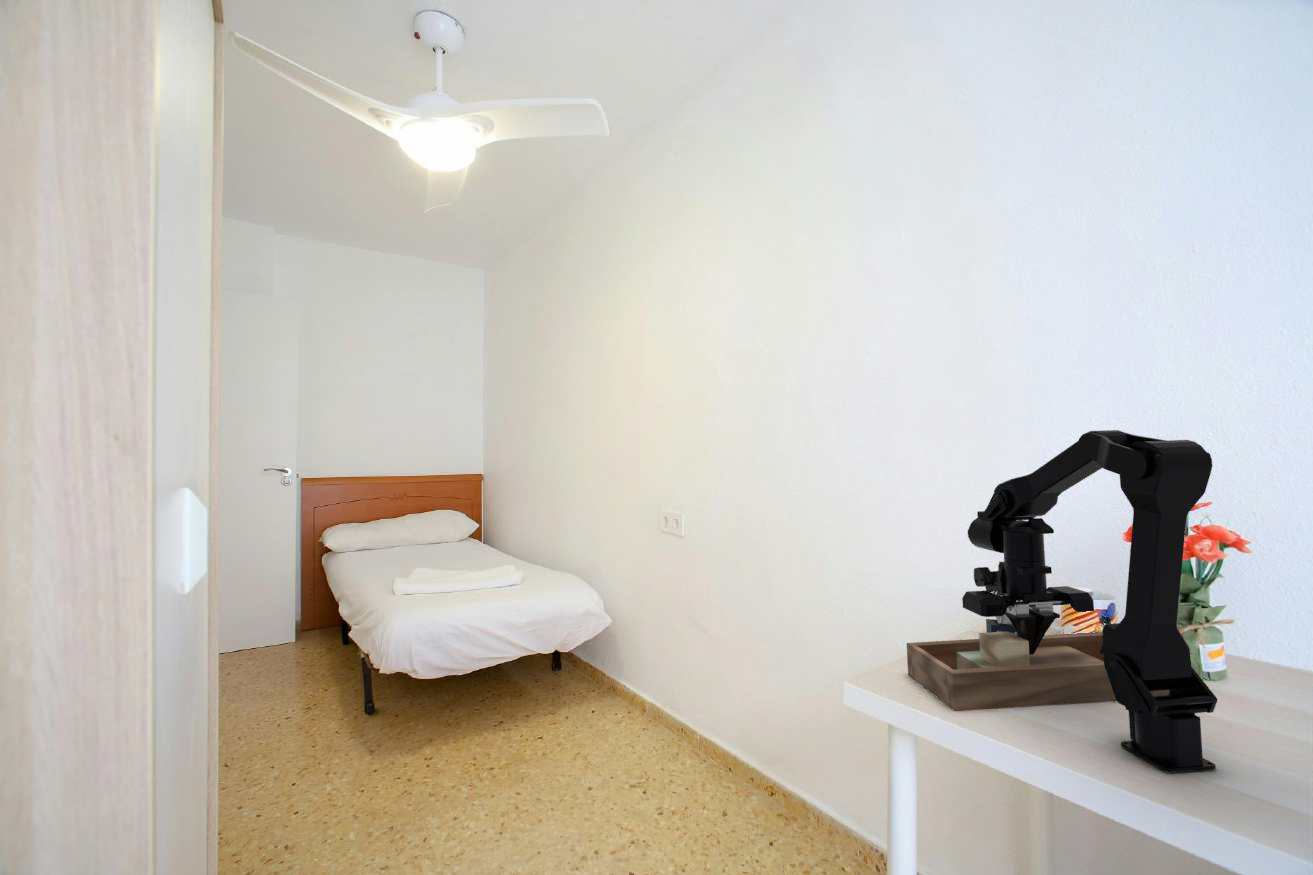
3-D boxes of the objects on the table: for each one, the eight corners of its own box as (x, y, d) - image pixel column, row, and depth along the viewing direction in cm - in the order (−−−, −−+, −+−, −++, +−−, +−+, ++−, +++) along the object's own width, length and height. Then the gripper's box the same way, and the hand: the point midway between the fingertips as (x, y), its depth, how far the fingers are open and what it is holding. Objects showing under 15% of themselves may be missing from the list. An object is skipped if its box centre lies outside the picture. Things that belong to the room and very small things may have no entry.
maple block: (1030, 666, 91) (1028, 641, 91) (999, 668, 91) (998, 642, 91) (1009, 655, 96) (1007, 631, 96) (980, 657, 96) (979, 633, 96)
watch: (994, 643, 113) (991, 588, 113) (984, 631, 121) (982, 579, 121) (1026, 645, 111) (1023, 589, 111) (1015, 633, 119) (1012, 580, 119)
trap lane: (1181, 696, 87) (1179, 660, 87) (954, 710, 85) (952, 673, 85) (1104, 663, 101) (1103, 631, 101) (908, 674, 99) (906, 642, 99)
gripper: (1043, 547, 102) (1048, 634, 102) (942, 552, 101) (946, 640, 101) (1093, 558, 91) (1099, 657, 91) (980, 564, 90) (986, 663, 90)
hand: (1029, 653), depth 93 cm, fingers closed
